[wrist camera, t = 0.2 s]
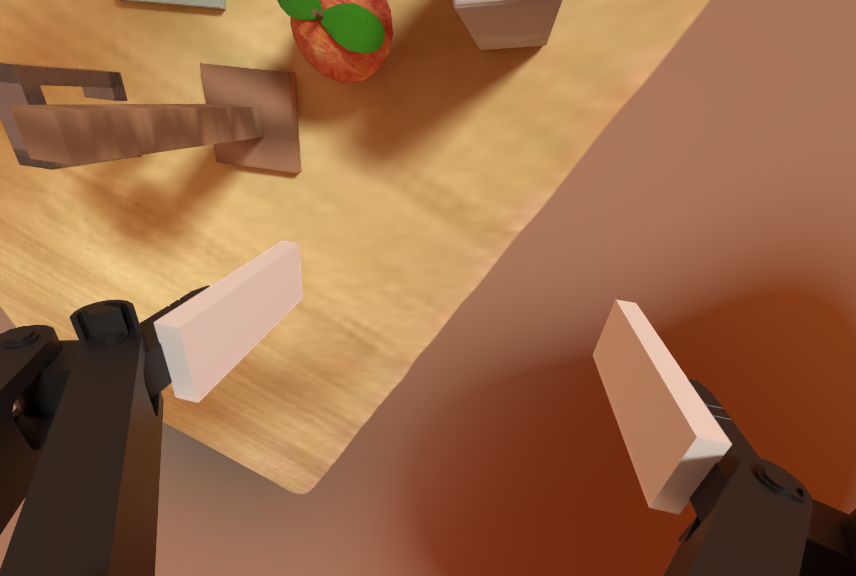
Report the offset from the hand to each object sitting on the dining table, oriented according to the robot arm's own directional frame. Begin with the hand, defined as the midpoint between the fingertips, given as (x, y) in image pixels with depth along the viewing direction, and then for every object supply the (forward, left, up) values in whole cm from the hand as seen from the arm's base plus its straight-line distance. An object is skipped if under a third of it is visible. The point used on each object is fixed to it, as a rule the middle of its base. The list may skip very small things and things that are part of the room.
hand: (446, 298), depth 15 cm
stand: (-3, -30, -28) cm, 41 cm away
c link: (-3, -34, -18) cm, 39 cm away
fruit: (-12, -14, -28) cm, 34 cm away
